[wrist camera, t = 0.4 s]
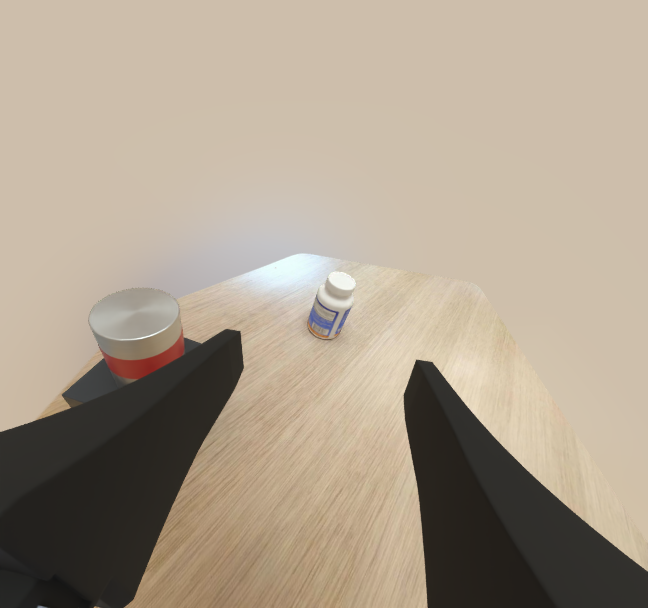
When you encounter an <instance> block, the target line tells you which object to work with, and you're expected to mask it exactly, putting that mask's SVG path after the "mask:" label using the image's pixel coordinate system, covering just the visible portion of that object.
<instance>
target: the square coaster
mask: <svg viewBox="0 0 648 608" xmlns="http://www.w3.org/2000/svg"><path fill="white" fill-rule="evenodd" d="M199 345H201V343H198V342H195V341H193V340H190V339H187V338H184V347H185V354H186V353H187V352H189V351H191V350H192V349H194V348H196V347H197V346H199ZM117 389H119V387H118V386H117V383H116V381H115V379H114V377H113V375H112V373H111V371H110V368H109V367H108V365H107V363H106V361H105V359H104V358H103V359H102V360H101V361H100V362H99V363H98V364H97V365H95V366H94V367H93V368H92V369H91V370H90V371H88V372H87V373H86V374H85V375H84V376H83V377H82V378H80V379H79V380H78V381H77V382H76V383H75V384H73V385H72V386H71V387H70V388H69V389H68V390H67V391H65V392H64V393H63V394H62V396H63V398H64V399H65V400H66V401H67V403H68V404H69V405H70V407H71V408H73V407H75V406H78V405H80V404H83V403H85V402H88V401H90V400H93V399H95V398H97V397H100V396H102V395H105V394H107V393H110V392H112V391H114V390H117Z"/></svg>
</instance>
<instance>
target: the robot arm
mask: <svg viewBox="0 0 648 608" xmlns="http://www.w3.org/2000/svg"><path fill="white" fill-rule="evenodd" d="M243 369H244V365H243V354H242V344H241V333H240V331H235V330H229V329H226V330H224V331H222V332H220V333H219V334H217V335H215V336H214V337H212V338H210V339H209V340H207V341H206V342H204V343H202V344H201V345H199V346H197V347H196V348H194V349H192V350H191V351H189V352H187V353H186V354H184V355H182V356H181V357H179V358H177V359H175V360H174V361H172V362H170V363H168V364H166V365H165V366H163V367H161V368H159V369H157V370H156V371H154V372H152V373H150V374H148V375H146V376H144V377H142V378H140V379H138V380H136V381H134V382H132V383H130V384H127V385H125V386H123V387H121V388H119V389H117V390H114V391H112V392H110V393H107V394H105V395H102V396H100V397H97V398H95V399H93V400H90V401H88V402H85V403H83V404H80V405H78V406H75V407H73V408H70V409H67V410H65V411H62V412H59V413H56V414H54V415H51V416H48V417H45V418H42V419H39V420H36V421H33V422H31V423H28V424H24V425H21V426H18V427H15V428H12V429H9V430H6V431H3V432H0V608H94V607H95V606H96V607H100V608H124V607H125V606H127V605H128V604H129V603H130V602H131V601H132V600H133V599H134V597H135V595H136V592H137V589H138V587H139V584H140V582H141V579H142V577H143V574H144V572H145V569H146V567H147V564H148V562H149V559H150V557H151V554H152V552H153V550H154V547H155V545H156V542H157V540H158V538H159V535H160V533H161V531H162V528H163V526H164V524H165V521H166V519H167V517H168V514H169V512H170V510H171V507H172V505H173V503H174V501H175V499H176V497H177V494H178V492H179V490H180V488H181V486H182V483H183V481H184V479H185V477H186V475H187V473H188V471H189V469H190V467H191V465H192V463H193V460H194V458H195V456H196V454H197V452H198V450H199V449H200V447H201V445H202V443H203V441H204V439H205V438H206V436H207V434H208V433H209V431H210V429H211V428H212V426H213V425H214V423H215V421H216V420H217V418H218V416H219V415H220V413H221V411H222V410H223V408H224V406H225V405H226V403H227V401H228V399H229V398H230V396H231V394H232V393H233V391H234V389H235V387H236V385H237V382H238V380H239V378H240V376H241V373H242V371H243ZM404 411H405V422H406V428H407V433H408V439H409V444H410V449H411V454H412V460H413V465H414V470H415V476H416V481H417V487H418V494H419V502H420V513H421V523H422V534H423V546H424V558H425V572H426V588H427V604H428V608H648V571H646V570H645V569H644V568H642V567H641V566H640V565H638V564H637V563H636V562H634V561H633V560H632V559H630V558H629V557H628V556H627V555H625V554H624V553H623V552H621V551H620V550H619V549H618V548H617V547H615V546H614V545H613V544H612V543H610V542H609V541H608V540H607V539H605V538H604V537H603V536H602V535H601V534H599V533H598V532H597V531H596V530H594V529H593V528H592V527H591V526H589V525H588V524H587V523H586V522H585V521H583V520H582V519H581V518H580V517H579V516H578V515H576V514H575V513H574V512H573V511H572V510H570V509H569V508H568V507H567V506H566V505H565V504H564V503H562V502H561V501H560V500H559V499H558V498H557V497H556V496H555V495H553V494H552V493H551V492H550V491H549V490H548V489H547V488H546V487H544V486H543V485H542V484H541V483H540V482H539V481H538V480H537V479H536V478H535V477H534V476H532V475H531V474H530V473H529V472H528V471H527V470H526V469H525V468H524V467H523V466H522V465H521V464H520V463H519V462H518V461H517V460H516V459H515V458H514V457H513V456H512V455H511V454H510V453H509V452H508V451H507V450H506V449H505V448H504V447H503V446H502V445H501V444H500V443H499V442H498V441H497V440H496V439H495V438H494V437H493V435H492V434H491V433H490V432H489V431H488V430H487V429H486V428H485V427H484V425H483V424H482V423H481V422H480V421H479V420H478V419H477V418H476V416H475V415H474V414H473V413H472V412H471V411H470V409H469V408H468V407H467V406H466V405H465V403H464V402H463V401H462V400H461V398H460V397H459V396H458V395H457V393H456V392H455V391H454V390H453V388H452V387H451V386H450V384H449V383H448V382H447V381H446V379H445V378H444V377H443V375H442V374H441V373H440V371H439V370H438V369H437V368H436V366H435V365H434V364H433V362H428V361H422V360H416V362H415V365H414V368H413V370H412V373H411V376H410V379H409V382H408V385H407V387H406V390H405V393H404Z"/></svg>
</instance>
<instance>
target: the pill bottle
mask: <svg viewBox="0 0 648 608" xmlns="http://www.w3.org/2000/svg"><path fill="white" fill-rule="evenodd" d="M355 286H356V283H355V281H354V279H353V278H352V277H351V276H349V275H348V274H345V273H343V272H332V273H330V274H329V275H328V278H327V280H326V283H324V284H322V285H321V286H320V287H319V289H318V292H317V295H316V298H315V301H314V304H313V307H312V310H311V313H310V316H309V319H308V328H309V330H310V331H311V332H312V333H313V334H314V335H315V336H317V337H319V338H322V339H332V338H335V337H336V336H337V335H338V334H339V332H340V331H341V328H342V326H343V324H344V322H345V320H346V318H347V316H348V314H349V311H350V309H351V307H352V305H353V302H354V297H353V294H352V293H353V292H354V289H355Z"/></svg>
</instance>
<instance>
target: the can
mask: <svg viewBox="0 0 648 608" xmlns="http://www.w3.org/2000/svg"><path fill="white" fill-rule="evenodd" d="M88 321H89V325H90V328H91V330H92V332H93V334H94V336H95V338H96V340H97V343H98V346H99V348H100V350H101V352H102V354H103V356H104V359H105V361H106V363H107V365H108V367H109V368H110V371H111V373H112V375H113V377H114V379H115V381H116V383H117V386H118V387H119V388H121V387H123V386H125V385H127V384H130V383H132V382H134V381H136V380H138V379H140V378H142V377H144V376H146V375H148V374H150V373H152V372H154V371H156V370H157V369H159V368H161V367H163V366H165V365H166V364H168V363H170V362H172V361H174V360H175V359H177V358H179V357H181V356H182V355H184V354H185V347H184V337H183V329H182V323H181V315H180V308H179V304H178V302H177V301H176V299H175V298H174V297H173V296H171V295H170V294H168V293H166V292H164V291H161V290H157V289H152V288H132V289H126V290H122V291H119V292H116V293H113V294H111V295H109V296H107V297H105V298H103V299H102V300H100V301H99V302H98V303H97V304H96V305H95V306H94V307H93V308H92V310H91V312H90V314H89V319H88Z"/></svg>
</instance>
